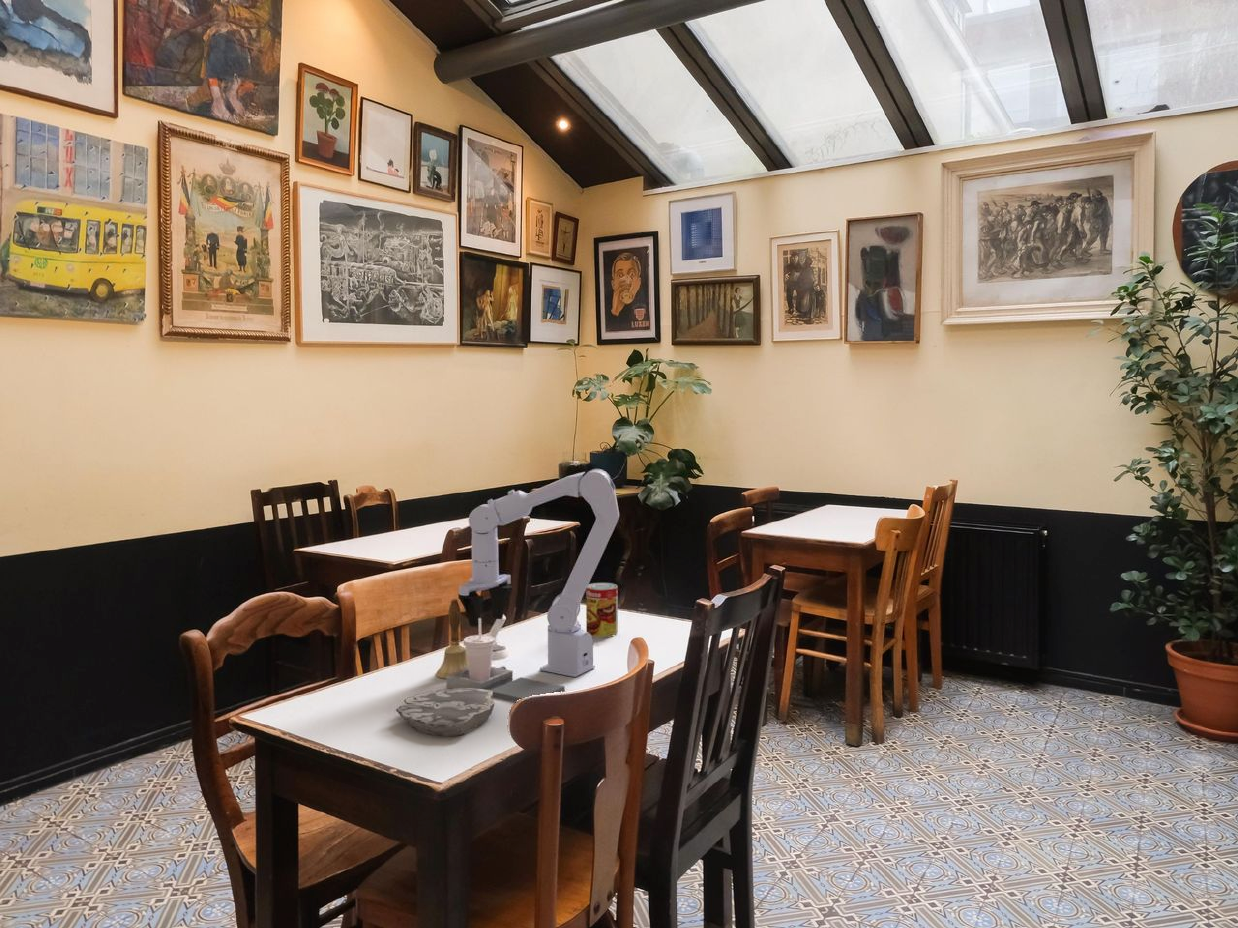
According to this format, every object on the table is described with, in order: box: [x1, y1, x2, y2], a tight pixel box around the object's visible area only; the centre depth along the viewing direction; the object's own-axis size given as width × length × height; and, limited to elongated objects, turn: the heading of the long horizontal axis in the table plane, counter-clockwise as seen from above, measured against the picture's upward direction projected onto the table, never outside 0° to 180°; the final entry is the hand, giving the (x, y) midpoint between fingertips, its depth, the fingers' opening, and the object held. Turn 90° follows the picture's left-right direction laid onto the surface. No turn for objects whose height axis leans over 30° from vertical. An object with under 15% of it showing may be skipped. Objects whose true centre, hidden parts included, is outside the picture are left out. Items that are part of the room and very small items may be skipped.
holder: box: [445, 665, 514, 690], centre depth 179 cm, size 10×12×2 cm
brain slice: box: [395, 688, 495, 738], centre depth 159 cm, size 20×17×3 cm
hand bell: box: [435, 598, 468, 680], centre depth 185 cm, size 8×8×16 cm
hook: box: [487, 613, 511, 661], centre depth 198 cm, size 8×12×7 cm
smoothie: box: [463, 617, 495, 681], centre depth 178 cm, size 6×6×14 cm
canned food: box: [585, 582, 619, 638], centre depth 218 cm, size 8×8×12 cm
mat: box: [491, 677, 566, 703], centre depth 173 cm, size 11×10×1 cm
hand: (486, 622), depth 189 cm, fingers open, 7 cm apart
